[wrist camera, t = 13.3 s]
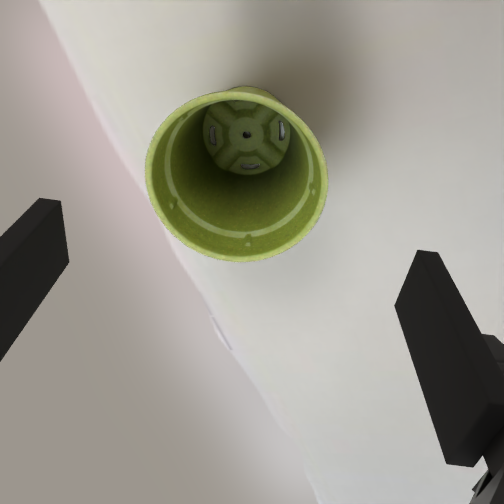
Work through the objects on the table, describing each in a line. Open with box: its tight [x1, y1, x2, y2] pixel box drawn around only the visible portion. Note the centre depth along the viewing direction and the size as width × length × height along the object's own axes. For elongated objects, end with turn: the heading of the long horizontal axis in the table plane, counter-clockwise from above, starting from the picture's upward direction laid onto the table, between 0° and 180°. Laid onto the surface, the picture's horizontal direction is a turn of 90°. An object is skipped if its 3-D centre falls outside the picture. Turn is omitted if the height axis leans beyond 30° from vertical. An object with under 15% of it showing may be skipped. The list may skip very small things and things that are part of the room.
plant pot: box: [145, 86, 328, 262], centre depth 26 cm, size 9×9×9 cm
